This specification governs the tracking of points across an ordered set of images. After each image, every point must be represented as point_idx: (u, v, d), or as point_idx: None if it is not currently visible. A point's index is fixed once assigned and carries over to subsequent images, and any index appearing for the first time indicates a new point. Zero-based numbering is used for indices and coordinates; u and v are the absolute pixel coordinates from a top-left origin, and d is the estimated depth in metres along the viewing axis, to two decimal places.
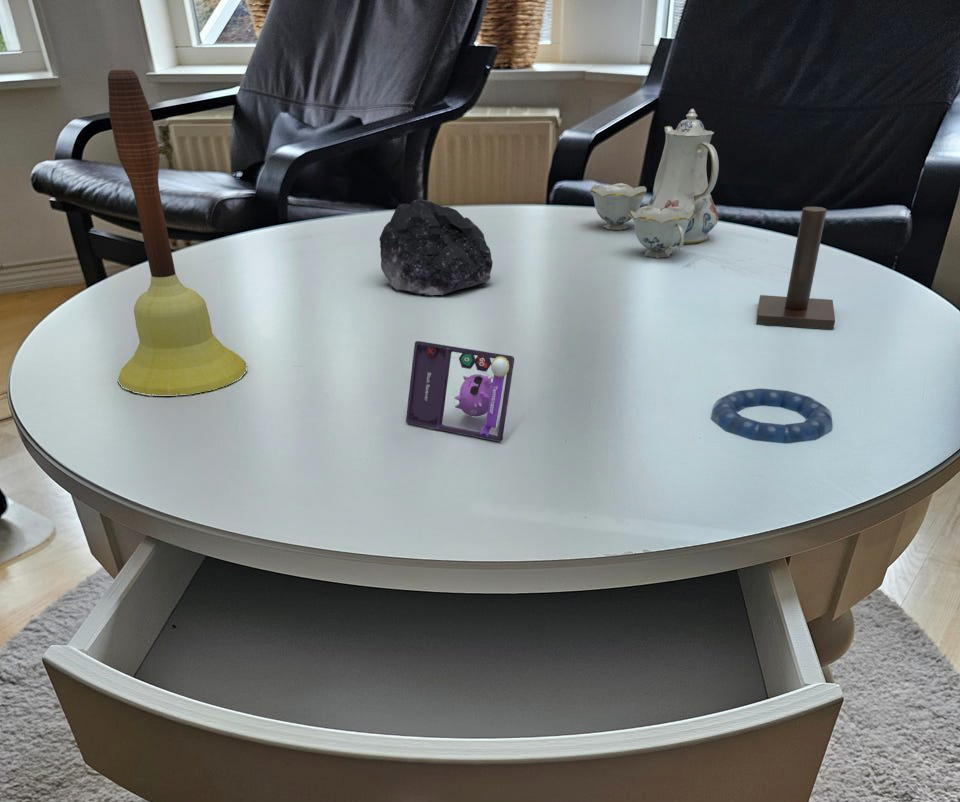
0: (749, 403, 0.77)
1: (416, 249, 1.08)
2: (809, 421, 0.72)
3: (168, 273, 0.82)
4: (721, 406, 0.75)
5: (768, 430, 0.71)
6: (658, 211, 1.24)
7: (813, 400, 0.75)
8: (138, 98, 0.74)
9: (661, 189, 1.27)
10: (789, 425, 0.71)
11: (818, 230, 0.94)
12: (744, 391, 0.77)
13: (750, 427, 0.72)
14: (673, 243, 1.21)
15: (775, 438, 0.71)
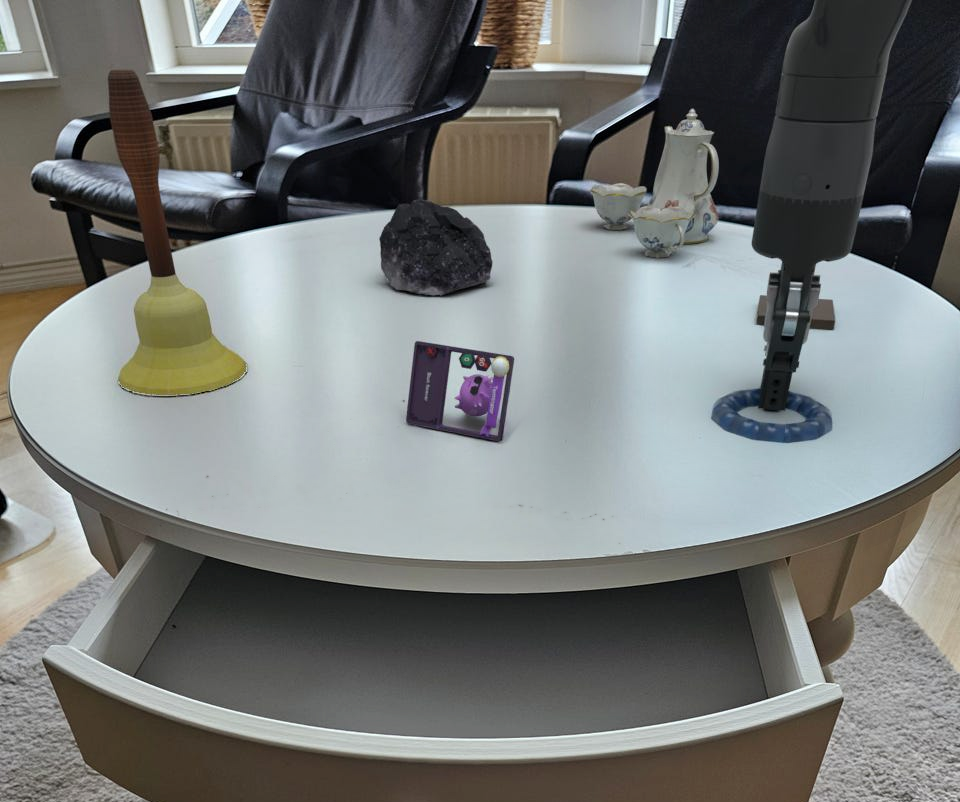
0: (749, 403, 0.77)
1: (416, 249, 1.08)
2: (809, 421, 0.72)
3: (168, 273, 0.82)
4: (721, 406, 0.75)
5: (768, 430, 0.71)
6: (658, 211, 1.24)
7: (813, 400, 0.75)
8: (138, 98, 0.74)
9: (661, 189, 1.27)
10: (789, 425, 0.71)
11: None
12: (744, 391, 0.77)
13: (750, 427, 0.72)
14: (673, 243, 1.21)
15: (775, 438, 0.71)
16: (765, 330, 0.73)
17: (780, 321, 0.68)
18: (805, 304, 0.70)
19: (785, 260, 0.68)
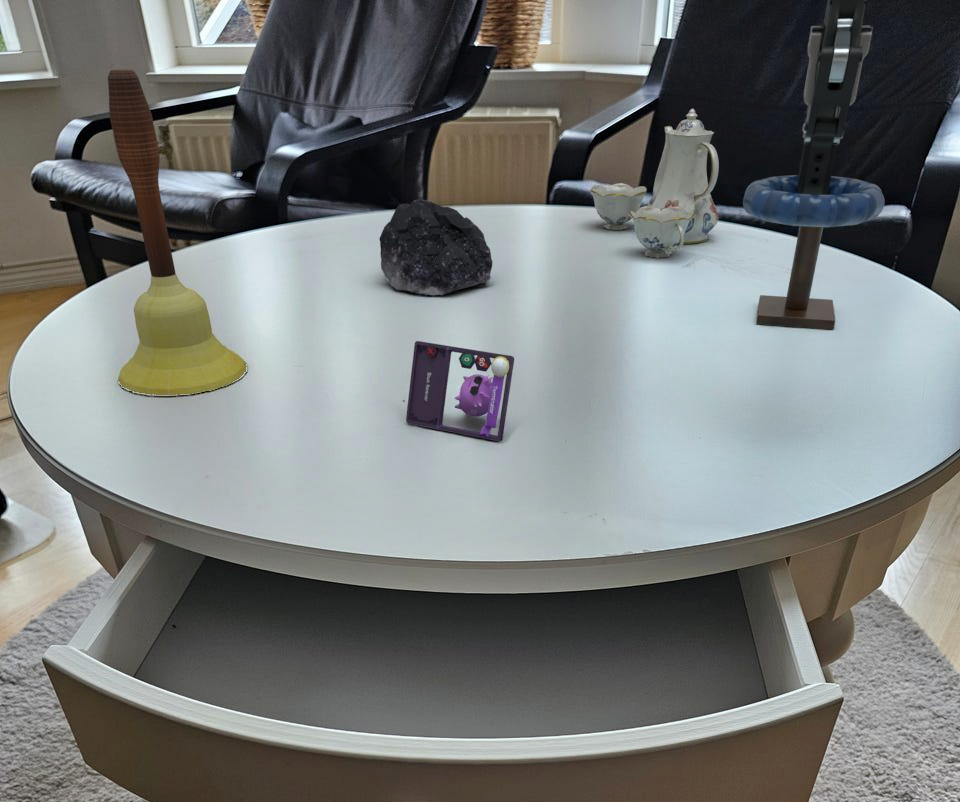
0: (786, 189, 0.67)
1: (416, 249, 1.08)
2: (858, 192, 0.62)
3: (168, 273, 0.82)
4: (755, 185, 0.65)
5: (811, 200, 0.61)
6: (658, 211, 1.24)
7: (860, 180, 0.66)
8: (138, 98, 0.74)
9: (661, 189, 1.27)
10: (835, 195, 0.61)
11: (818, 230, 0.94)
12: (780, 176, 0.67)
13: (791, 199, 0.62)
14: (673, 243, 1.21)
15: (820, 209, 0.61)
16: (806, 90, 0.63)
17: (827, 60, 0.58)
18: None
19: None
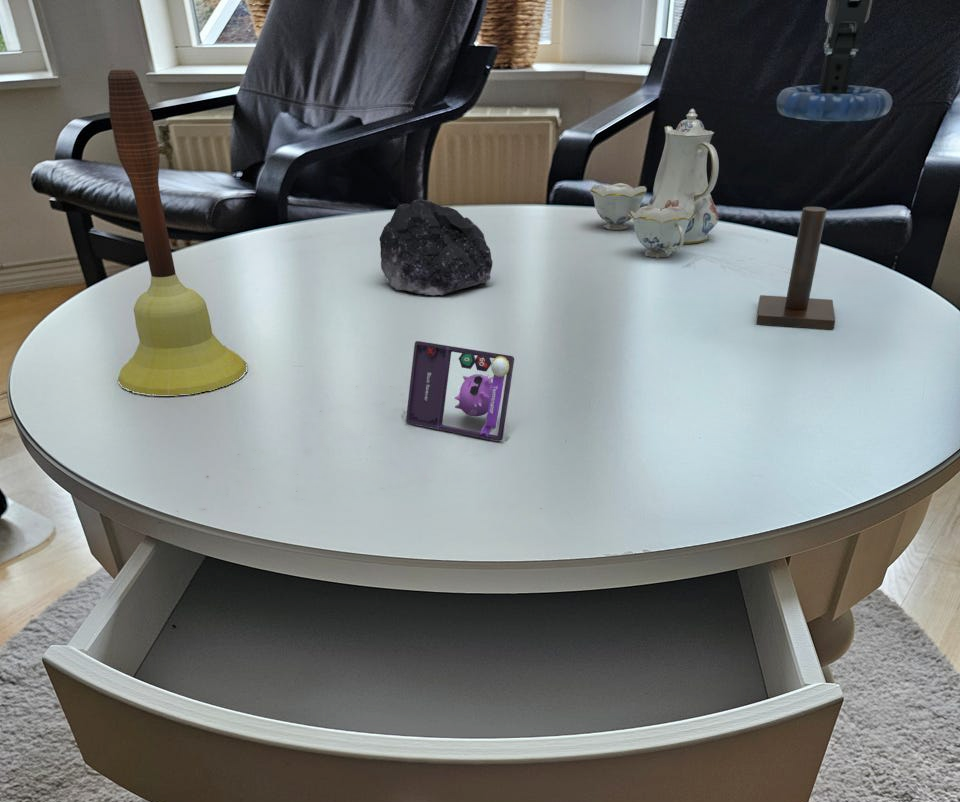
0: None
1: (416, 249, 1.08)
2: (871, 92, 0.77)
3: (168, 273, 0.82)
4: (786, 90, 0.80)
5: (834, 98, 0.76)
6: (658, 211, 1.24)
7: (871, 87, 0.80)
8: (138, 98, 0.74)
9: (661, 189, 1.27)
10: (854, 94, 0.76)
11: (818, 230, 0.94)
12: None
13: (818, 97, 0.77)
14: (673, 243, 1.21)
15: (842, 105, 0.76)
16: (829, 10, 0.78)
17: None
18: None
19: None
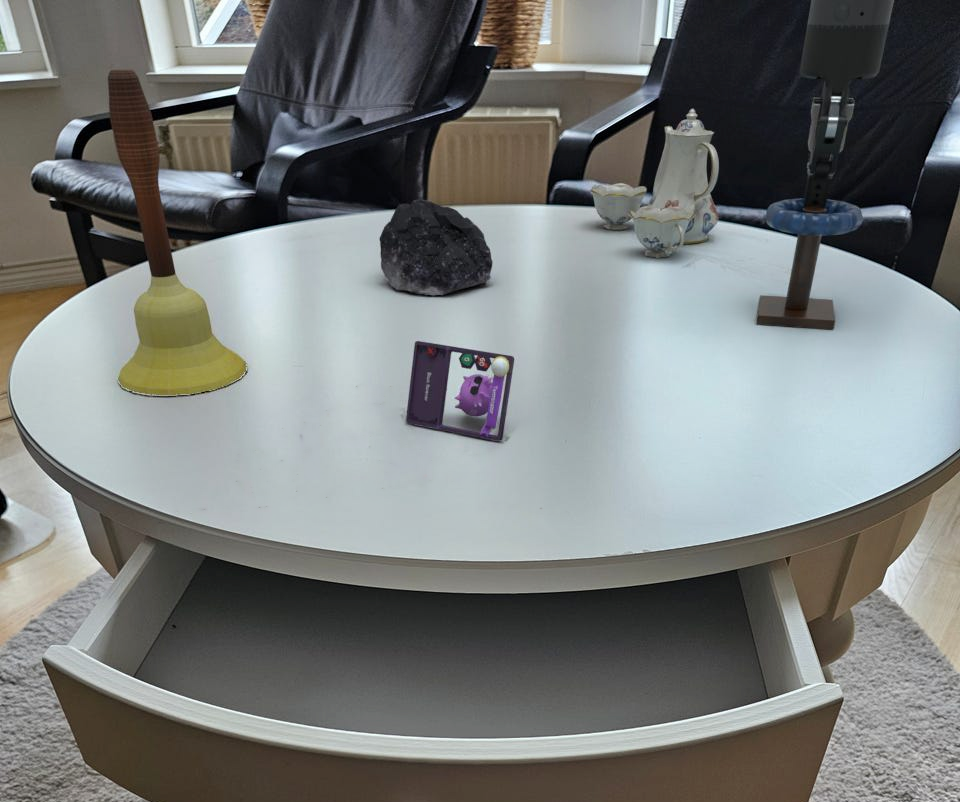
0: (795, 208, 0.97)
1: (416, 249, 1.08)
2: (845, 212, 0.92)
3: (168, 273, 0.82)
4: (774, 206, 0.94)
5: (813, 218, 0.91)
6: (658, 211, 1.24)
7: (846, 203, 0.95)
8: (138, 98, 0.74)
9: (661, 189, 1.27)
10: (829, 214, 0.91)
11: None
12: (791, 199, 0.97)
13: (799, 216, 0.91)
14: (673, 243, 1.21)
15: (819, 224, 0.91)
16: (810, 142, 0.92)
17: (824, 124, 0.88)
18: (842, 115, 0.89)
19: (828, 77, 0.88)
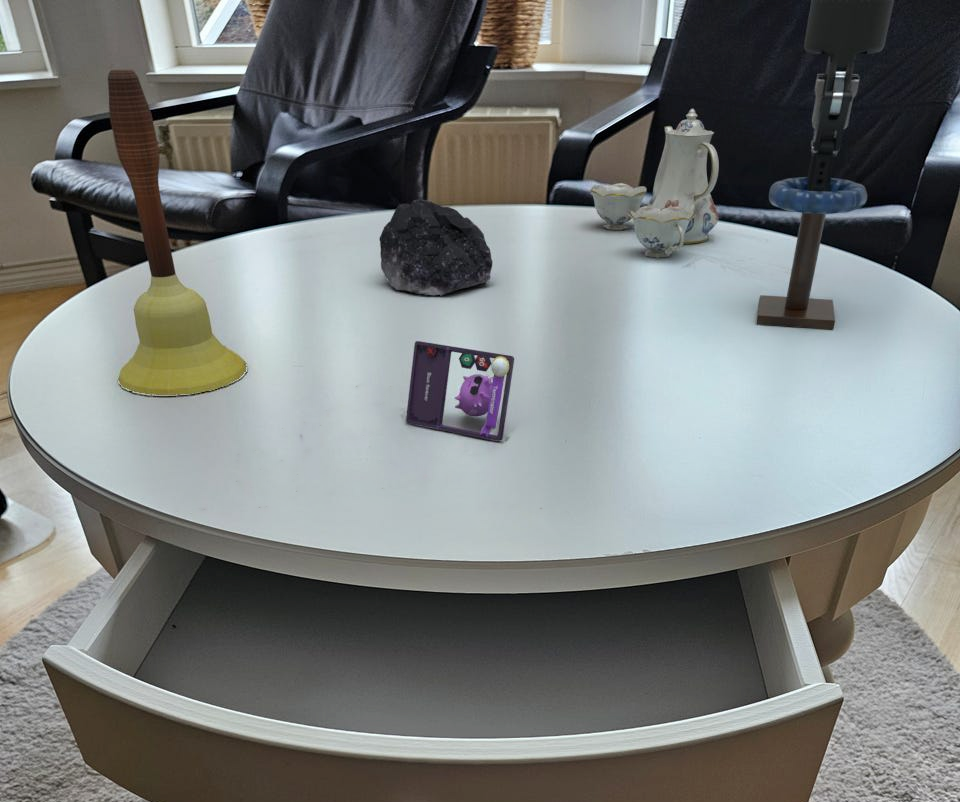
0: (798, 187, 0.95)
1: (416, 249, 1.08)
2: (849, 190, 0.90)
3: (168, 273, 0.82)
4: (777, 185, 0.93)
5: (817, 195, 0.90)
6: (658, 211, 1.24)
7: (850, 181, 0.94)
8: (138, 98, 0.74)
9: (661, 189, 1.27)
10: (833, 191, 0.90)
11: (818, 230, 0.94)
12: (794, 178, 0.96)
13: (802, 194, 0.90)
14: (673, 243, 1.21)
15: (823, 202, 0.90)
16: (814, 118, 0.91)
17: (828, 100, 0.86)
18: (847, 90, 0.88)
19: (832, 52, 0.87)
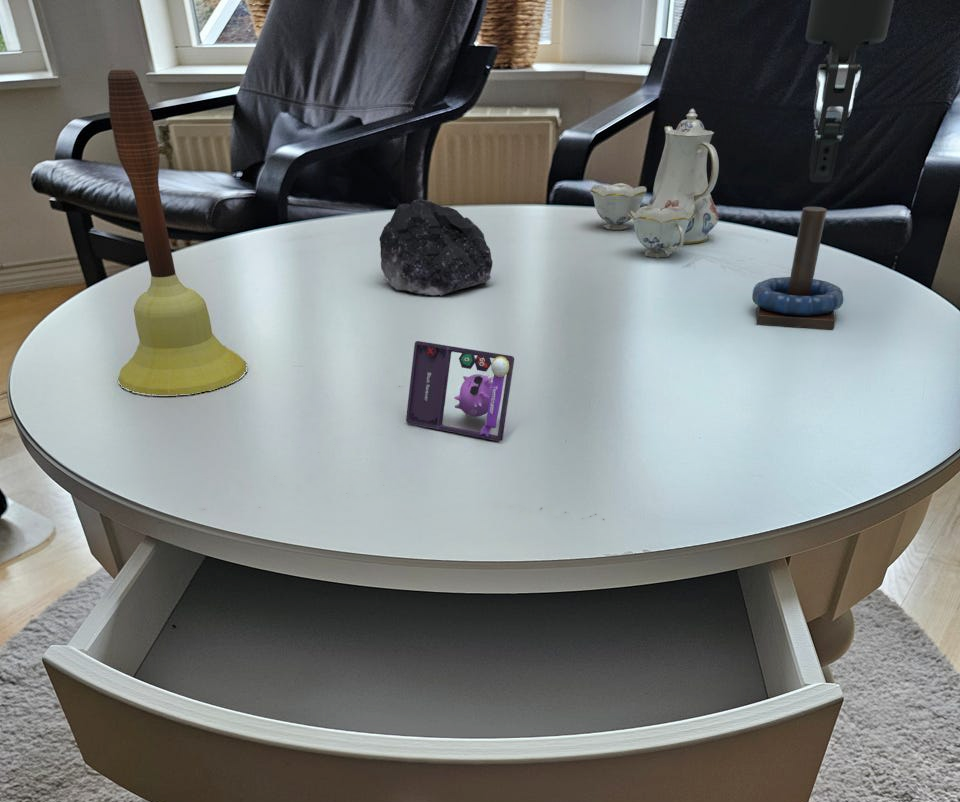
0: (780, 287, 1.02)
1: (416, 249, 1.08)
2: (826, 294, 0.97)
3: (168, 273, 0.82)
4: (760, 286, 1.00)
5: (796, 300, 0.96)
6: (658, 211, 1.24)
7: (828, 283, 1.01)
8: (138, 98, 0.74)
9: (661, 189, 1.27)
10: (812, 296, 0.96)
11: (818, 230, 0.94)
12: (776, 278, 1.02)
13: (783, 298, 0.97)
14: (673, 243, 1.21)
15: (802, 306, 0.96)
16: (817, 102, 0.89)
17: (834, 69, 0.85)
18: None
19: (834, 42, 0.86)
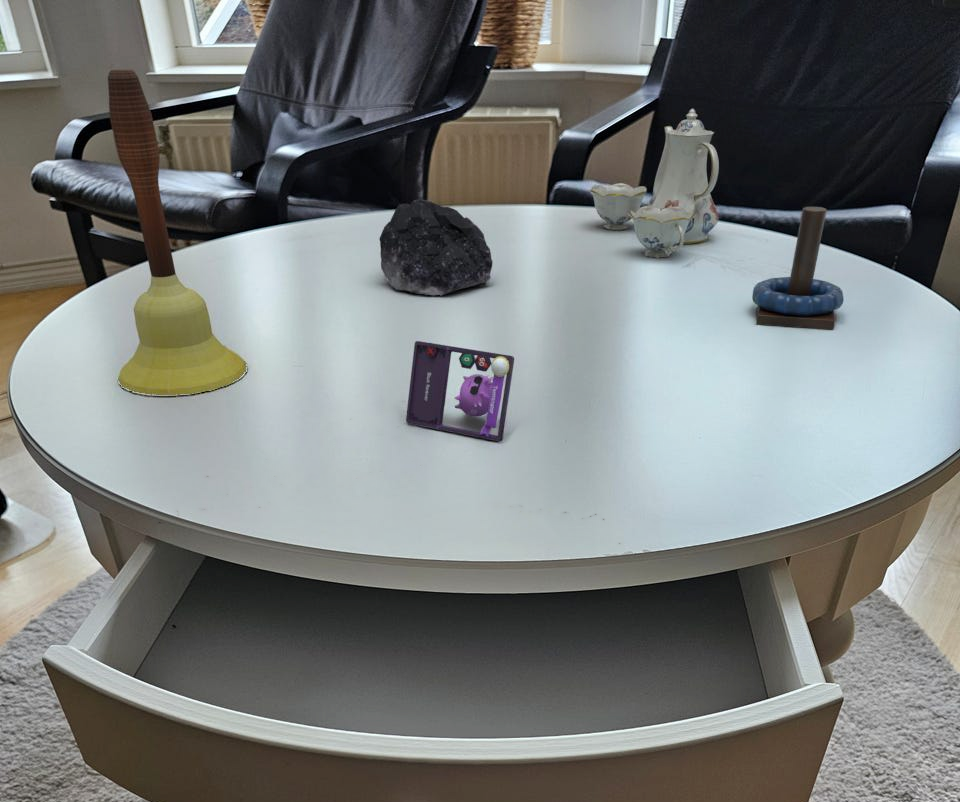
0: (780, 287, 1.02)
1: (416, 249, 1.08)
2: (826, 294, 0.97)
3: (168, 273, 0.82)
4: (760, 286, 1.00)
5: (796, 300, 0.96)
6: (658, 211, 1.24)
7: (828, 283, 1.01)
8: (138, 98, 0.74)
9: (661, 189, 1.27)
10: (812, 296, 0.96)
11: (818, 230, 0.94)
12: (776, 278, 1.02)
13: (783, 298, 0.97)
14: (673, 243, 1.21)
15: (802, 306, 0.96)
16: None
17: None
18: None
19: None
